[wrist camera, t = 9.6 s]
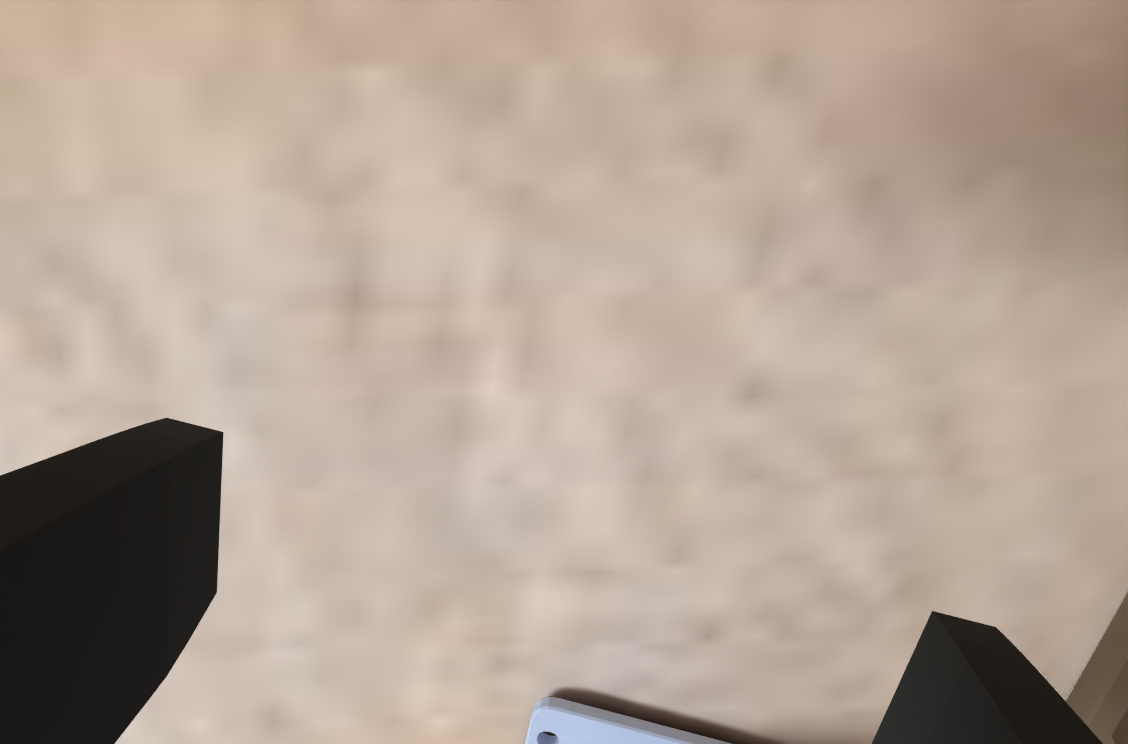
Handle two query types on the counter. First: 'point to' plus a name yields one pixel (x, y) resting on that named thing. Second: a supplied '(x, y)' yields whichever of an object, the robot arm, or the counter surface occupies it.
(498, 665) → the counter surface
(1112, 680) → the rack
